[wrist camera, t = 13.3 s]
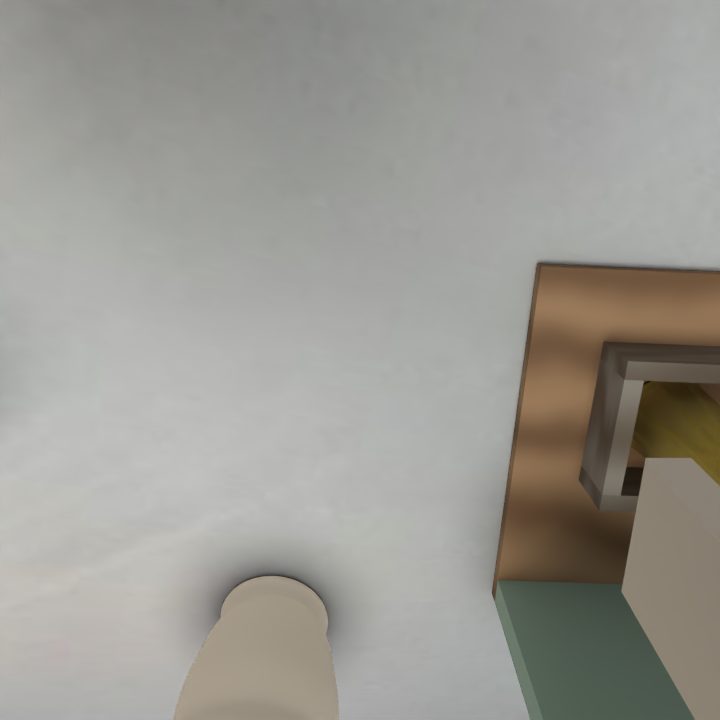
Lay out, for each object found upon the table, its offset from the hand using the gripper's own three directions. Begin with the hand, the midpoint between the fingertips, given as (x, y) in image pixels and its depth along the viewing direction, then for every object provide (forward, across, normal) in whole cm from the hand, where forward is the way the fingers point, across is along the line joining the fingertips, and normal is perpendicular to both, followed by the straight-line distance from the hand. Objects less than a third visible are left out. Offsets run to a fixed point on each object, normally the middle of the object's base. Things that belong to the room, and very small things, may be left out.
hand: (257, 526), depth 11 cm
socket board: (+31, +24, -15) cm, 42 cm away
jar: (+31, -5, -30) cm, 44 cm away
